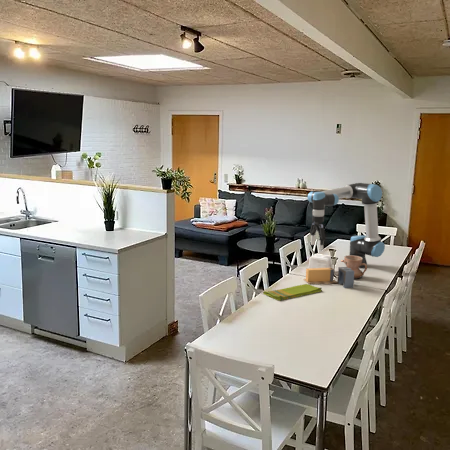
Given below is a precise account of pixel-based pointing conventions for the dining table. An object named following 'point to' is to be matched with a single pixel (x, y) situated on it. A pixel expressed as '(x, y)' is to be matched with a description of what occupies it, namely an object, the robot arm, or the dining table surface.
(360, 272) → the ceramic jug
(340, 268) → the block
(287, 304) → the dining table surface
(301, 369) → the dining table surface
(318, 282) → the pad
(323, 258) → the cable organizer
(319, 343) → the dining table surface
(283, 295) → the dish towel
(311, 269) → the plug
